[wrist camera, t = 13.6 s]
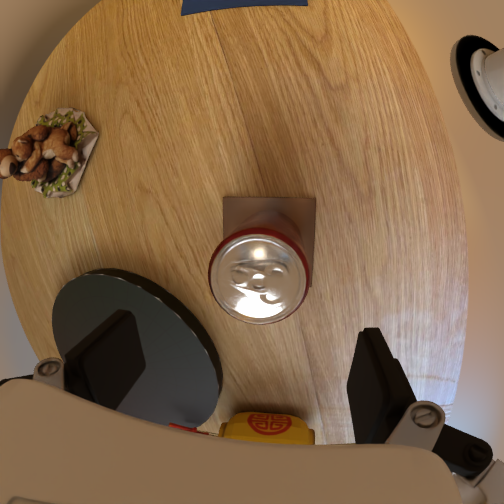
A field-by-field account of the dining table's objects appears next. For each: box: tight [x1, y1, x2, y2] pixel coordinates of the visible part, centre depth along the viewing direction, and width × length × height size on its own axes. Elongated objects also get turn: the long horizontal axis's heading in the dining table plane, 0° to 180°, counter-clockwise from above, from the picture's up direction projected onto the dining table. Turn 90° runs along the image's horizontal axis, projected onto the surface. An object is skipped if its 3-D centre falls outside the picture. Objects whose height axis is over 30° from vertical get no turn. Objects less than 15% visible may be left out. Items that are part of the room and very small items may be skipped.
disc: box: [52, 268, 223, 430], centre depth 37 cm, size 30×30×3 cm
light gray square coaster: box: [223, 197, 316, 287], centre depth 30 cm, size 10×10×1 cm
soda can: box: [208, 210, 311, 325], centre depth 24 cm, size 7×7×12 cm
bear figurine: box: [0, 108, 99, 198], centre depth 25 cm, size 14×15×12 cm
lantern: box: [169, 412, 356, 445], centre depth 33 cm, size 10×10×30 cm
